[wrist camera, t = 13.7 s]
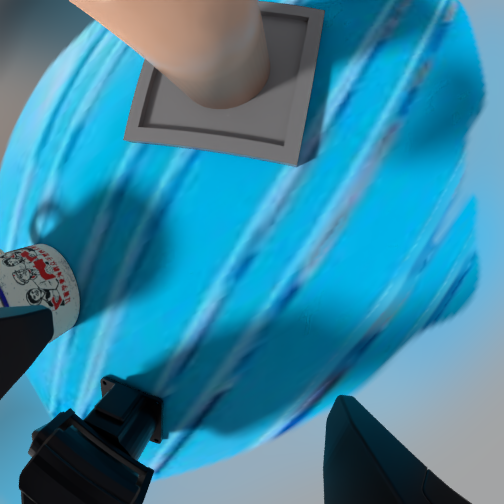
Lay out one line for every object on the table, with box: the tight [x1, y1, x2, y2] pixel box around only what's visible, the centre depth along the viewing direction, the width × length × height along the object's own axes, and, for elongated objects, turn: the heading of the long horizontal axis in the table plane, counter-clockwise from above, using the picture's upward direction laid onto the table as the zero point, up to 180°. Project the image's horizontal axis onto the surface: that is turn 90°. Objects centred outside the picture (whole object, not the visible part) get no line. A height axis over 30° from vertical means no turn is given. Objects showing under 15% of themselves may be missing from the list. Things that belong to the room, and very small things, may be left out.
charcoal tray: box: [123, 1, 325, 167], centre depth 17 cm, size 12×12×1 cm
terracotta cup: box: [69, 0, 270, 109], centre depth 11 cm, size 6×6×13 cm
